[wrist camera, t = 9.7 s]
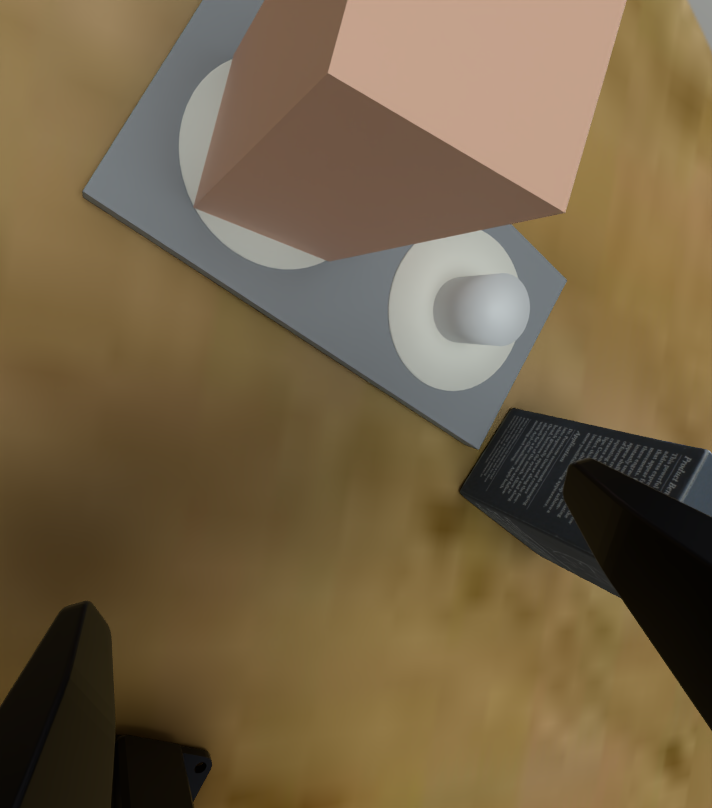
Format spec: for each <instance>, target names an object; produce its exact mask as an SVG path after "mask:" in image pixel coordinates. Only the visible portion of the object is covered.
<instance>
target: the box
mask: <svg viewBox="0 0 712 808" xmlns="http://www.w3.org/2000/svg"><path fill="white" fill-rule="evenodd" d="M585 458H592V459H595V460H597V461H599V462H601V463H603V464H605V465H607V466H609V467H611V468H613V469H615V470H617V471H619V472H621V473H623V474H625V475H627V476H629V477H632V478H634V479H636V480H638V481H640V482H642V483H644V484H646V485H648V486H650V487H652V488H654V489H656V490H658V491H660V492H662V493H664V494H666V495H668V496H670V497H672V498H674V499H676V500H678V501H680V502H682V503H684V504H686V505H688V506H690V507H692V508H695V509H697V510H699V511H701V512H703V513H705V514H707V515H709V516H711V517H712V454H711V452H710V451H709V450H706V449H701V448H696V447H691V446H686V445H681V444H676V443H672V442H667V441H662V440H657V439H653V438H648V437H643V436H639V435H634V434H629V433H625V432H621V431H616V430H612V429H607V428H603V427H598V426H594V425H589V424H584V423H580V422H575V421H571V420H566V419H562V418H556V417H553V416H548V415H544V414H538V413H534V412H529V411H524V410H520V409H515V408H513V409H511V410H510V411H509V412H508V414H507V416H506V417H505V419H504V420H503V421H502V423H501V425H500V427H499V429H498V430H497V432H496V433H495V435H494V436H493V438H492V440H491V441H490V443H489V445H488V446H487V448H486V449H485V451H484V452H483V454H482V455H481V457H480V459H479V460H478V462H477V463H476V465H475V467H474V468H473V470H472V472H471V473H470V475H469V476H468V478H467V480H466V481H465V483H464V485H463V487H462V488H461V490H460V493H461V494H462V495H463V496H464V497H465V498H466V499H467V500H469V501H470V502H471V503H472V504H474V505H475V506H476V507H477V508H479V509H480V510H481V511H483V512H484V513H485V514H486V515H488V516H489V517H490V518H492V519H493V520H494V521H495V522H497V523H498V524H499V525H501V526H502V527H503V528H505V529H506V530H507V531H508V532H510V533H511V534H512V535H513V536H515V537H516V538H517V539H519V540H520V541H521V542H523V543H524V544H525V545H527V546H528V547H529V548H530V549H532V550H533V551H534V552H536V553H537V554H538V555H540V556H541V557H544V558H545V559H547V560H549V561H551V562H553V563H555V564H557V565H559V566H560V567H562V568H564V569H566V570H568V571H570V572H572V573H574V574H576V575H578V576H579V577H581V578H583V579H585V580H587V581H590V582H591V583H593V584H595V585H597V586H599V587H600V588H603V589H605V590H607V591H608V592H610V593H612V594H614V595H616V596H618V597H620V596H619V594H618V593H617V591H616V590H615V588H614V587H613V586H612V584H611V583H610V581H609V580H608V578H607V577H606V575H605V573H604V572H603V570H602V569H601V567H600V565H599V564H598V562H597V560H596V558H595V557H594V555H593V553H592V551H591V549H590V547H589V546H588V544H587V542H586V540H585V538H584V536H583V534H582V533H581V531H580V529H579V527H578V525H577V523H576V522H575V520H574V518H573V516H572V514H571V512H570V510H569V509H568V507H567V505H566V503H565V501H564V498H563V486H564V482H565V478H566V473H567V469H568V466H569V464H570V463H572V462H574V461H578V460H581V459H585ZM620 598H621V597H620Z"/></svg>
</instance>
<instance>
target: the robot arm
mask: <svg viewBox="0 0 712 808" xmlns="http://www.w3.org/2000/svg"><path fill="white" fill-rule="evenodd" d="M563 498H564V501H565V503H566V505H567V507H568V509H569V510H570V512H571V514H572V516H573V518H574V520H575V522H576V523H577V525H578V527H579V529H580V531H581V533H582V534H583V536H584V538H585V540H586V542H587V544H588V546H589V547H590V549H591V551H592V553H593V555H594V557H595V558H596V560H597V562H598V564H599V565H600V567H601V569H602V570H603V572H604V573H605V575H606V577H607V578H608V580H609V581H610V583H611V584H612V586H613V587H614V588H615V590H616V591H617V593H618V594H619V596H620V597H621V599H622V600H623V602H624V603H625V605H626V606H627V607H628V609H629V610H630V612H631V613H632V615H633V616H634V618H635V619H636V621H637V622H638V624H639V625H640V627H641V628H642V629H643V631H644V632H645V634H646V635H647V637H648V638H649V640H650V641H651V643H652V644H653V646H654V647H655V648H656V650H657V651H658V653H659V654H660V656H661V657H662V659H663V660H664V662H665V663H666V665H667V666H668V667H669V669H670V670H671V672H672V673H673V675H674V676H675V678H676V679H677V681H678V682H679V684H680V685H681V687H682V688H683V689H684V691H685V692H686V694H687V695H688V697H689V698H690V700H691V701H692V703H693V704H694V706H695V707H696V708H697V710H698V711H699V713H700V714H701V716H702V717H703V719H704V720H705V722H706V723H707V725H708V726H709V728H710V729H711V730H712V517H711V516H709V515H707V514H705V513H703V512H701V511H699V510H697V509H695V508H692V507H690V506H688V505H686V504H684V503H682V502H680V501H678V500H676V499H674V498H672V497H670V496H668V495H666V494H664V493H662V492H660V491H658V490H656V489H654V488H652V487H650V486H648V485H646V484H644V483H642V482H640V481H638V480H636V479H634V478H632V477H629V476H627V475H625V474H623V473H621V472H619V471H617V470H615V469H613V468H611V467H609V466H607V465H605V464H603V463H601V462H599V461H597V460H595V459H592V458H585V459H581V460H578V461H574V462H572V463H570V464H569V466H568V469H567V473H566V478H565V482H564V486H563ZM201 762H203V763H202V765H200V766H196V765H197V764H199V763H201ZM211 767H212V761H211V757H210V754H209V753H208V752H207V751H205V750H200V749H194V748H189V747H183V746H180V745H179V744H175V743H169V742H164V741H158V740H153V739H147V738H141V737H136V736H130V735H123V736H122V735H116V734H115V701H114V681H113V660H112V639H111V632H110V628H109V626H108V624H107V623H106V621H105V620H104V618H103V617H102V616H101V614H100V613H99V611H98V610H97V609H96V607H95V606H94V605H93V604H92V602H90V601H83V602H80V603H76V604H73V605H69V606H66V607H64V608H63V609H62V610H61V611H60V612H59V614H58V615H57V617H56V618H55V620H54V622H53V623H52V625H51V626H50V628H49V630H48V631H47V633H46V634H45V636H44V638H43V639H42V641H41V642H40V644H39V645H38V647H37V649H36V650H35V652H34V653H33V655H32V657H31V658H30V660H29V661H28V663H27V665H26V666H25V668H24V669H23V671H22V673H21V674H20V676H19V677H18V679H17V681H16V682H15V684H14V685H13V687H12V688H11V690H10V692H9V693H8V695H7V696H6V698H5V700H4V701H3V703H2V704H1V706H0V808H194V805H193V801H194V799H195V797H196V796H197V794H198V792H199V790H200V788H201V786H202V784H203V783H204V781H205V779H206V777H207V775H208V773H209V771H210V770H211Z"/></svg>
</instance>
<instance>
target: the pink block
mask: <svg viewBox="0 0 712 808" xmlns="http://www.w3.org/2000/svg"><path fill="white" fill-rule="evenodd" d="M626 1H627V0H264V2H263V4H262V5H261V7H260V9H259V11H258V12H257V14H256V16H255V18H254V20H253V21H252V23H251V25H250V27H249V28H248V30H247V32H246V34H245V36H244V37H243V39H242V41H241V43H240V44H239V46H238V48H237V50H236V52H235V53H234V55H233V59H232V63H231V66H230V70H229V74H228V78H227V82H226V85H225V89H224V93H223V97H222V100H221V104H220V108H219V112H218V116H217V119H216V123H215V127H214V131H213V134H212V138H211V142H210V146H209V150H208V153H207V157H206V161H205V165H204V168H203V172H202V176H201V180H200V184H199V187H198V191H197V195H196V199H195V202H194V206H193V208H195V209H198V210H200V211H203V212H205V213H208V214H210V215H213V216H216V217H218V218H221V219H223V220H226V221H228V222H231V223H233V224H236V225H238V226H241V227H243V228H246V229H248V230H251V231H253V232H256V233H258V234H261V235H263V236H266V237H268V238H271V239H273V240H276V241H278V242H281V243H283V244H286V245H288V246H291V247H293V248H296V249H299V250H301V251H304V252H306V253H309V254H311V255H314V256H316V257H319V258H321V259H324V260H326V261H329V262H330V261H335V260H339V259H344V258H349V257H354V256H359V255H364V254H368V253H373V252H378V251H383V250H388V249H393V248H397V247H402V246H407V245H412V244H417V243H422V242H426V241H431V240H436V239H441V238H446V237H450V236H455V235H460V234H465V233H470V232H475V231H479V230H484V229H489V228H494V227H499V226H504V225H508V224H513V223H518V222H523V221H528V220H533V219H537V218H542V217H547V216H552V215H557V214H561V213H565V212H566V208H567V205H568V201H569V198H570V194H571V191H572V187H573V184H574V181H575V177H576V174H577V170H578V167H579V163H580V160H581V156H582V153H583V149H584V146H585V142H586V139H587V136H588V132H589V129H590V125H591V122H592V118H593V115H594V111H595V108H596V104H597V101H598V98H599V94H600V91H601V87H602V84H603V80H604V77H605V73H606V70H607V66H608V63H609V59H610V56H611V53H612V49H613V46H614V42H615V39H616V35H617V32H618V28H619V25H620V21H621V18H622V14H623V11H624V8H625V4H626Z"/></svg>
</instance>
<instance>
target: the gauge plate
mask: <svg viewBox="0 0 712 808" xmlns="http://www.w3.org/2000/svg"><path fill="white" fill-rule="evenodd" d="M263 2H264V0H203V1H202V2H201V4H200V5H199V7H198V8H197V10H196V12H195V13H194V15H193V16H192V18H191V20H190V21H189V23H188V24H187V26H186V28H185V29H184V31H183V32H182V34H181V35H180V37H179V39H178V40H177V42H176V43H175V45H174V47H173V48H172V50H171V51H170V53H169V55H168V56H167V58H166V59H165V61H164V63H163V64H162V66H161V67H160V69H159V70H158V72H157V74H156V75H155V77H154V78H153V80H152V82H151V83H150V85H149V86H148V88H147V90H146V91H145V93H144V94H143V96H142V98H141V99H140V101H139V102H138V104H137V105H136V107H135V109H134V110H133V112H132V113H131V115H130V117H129V118H128V120H127V121H126V123H125V125H124V126H123V128H122V129H121V131H120V133H119V134H118V136H117V137H116V139H115V140H114V142H113V144H112V145H111V147H110V148H109V150H108V152H107V153H106V155H105V156H104V158H103V160H102V161H101V163H100V164H99V166H98V167H97V169H96V171H95V172H94V174H93V175H92V177H91V179H90V180H89V182H88V183H87V185H86V187H85V188H84V190H83V197H84V198H85V199H87V200H88V201H90V202H91V203H93V204H95V205H96V206H98V207H99V208H101V209H102V210H104V211H105V212H107V213H108V214H110V215H112V216H113V217H115V218H116V219H118V220H119V221H121V222H122V223H124V224H125V225H127V226H129V227H130V228H132V229H133V230H135V231H136V232H138V233H139V234H141V235H142V236H144V237H145V238H147V239H149V240H150V241H152V242H153V243H155V244H156V245H158V246H159V247H161V248H162V249H164V250H166V251H167V252H169V253H170V254H172V255H173V256H175V257H176V258H178V259H179V260H181V261H183V262H184V263H186V264H187V265H189V266H190V267H192V268H193V269H195V270H196V271H198V272H200V273H201V274H203V275H204V276H206V277H207V278H209V279H210V280H212V281H213V282H215V283H217V284H218V285H220V286H221V287H223V288H224V289H226V290H227V291H229V292H230V293H232V294H234V295H235V296H237V297H238V298H240V299H241V300H243V301H244V302H246V303H247V304H249V305H250V306H252V307H254V308H255V309H257V310H258V311H260V312H261V313H263V314H264V315H266V316H267V317H269V318H271V319H272V320H274V321H275V322H277V323H278V324H280V325H281V326H283V327H284V328H286V329H288V330H289V331H291V332H292V333H294V334H295V335H297V336H298V337H300V338H301V339H303V340H305V341H306V342H308V343H309V344H311V345H312V346H314V347H315V348H317V349H318V350H320V351H322V352H323V353H325V354H326V355H328V356H329V357H331V358H332V359H334V360H335V361H337V362H338V363H340V364H342V365H343V366H345V367H346V368H348V369H349V370H351V371H352V372H354V373H355V374H357V375H359V376H360V377H362V378H363V379H365V380H366V381H368V382H369V383H371V384H372V385H374V386H376V387H377V388H379V389H380V390H382V391H383V392H385V393H386V394H388V395H389V396H391V397H393V398H394V399H396V400H397V401H399V402H400V403H402V404H403V405H405V406H406V407H408V408H410V409H411V410H413V411H414V412H416V413H417V414H419V415H420V416H422V417H423V418H425V419H427V420H428V421H430V422H431V423H433V424H434V425H436V426H437V427H439V428H440V429H442V430H443V431H445V432H447V433H448V434H450V435H451V436H453V437H454V438H456V439H457V440H459V441H460V442H462V443H464V444H465V445H467V446H470V447H473V448H475V449H478V450H479V448H480V446H481V444H482V442H483V441H484V439H485V437H486V435H487V433H488V431H489V429H490V427H491V425H492V423H493V421H494V419H495V417H496V416H497V414H498V412H499V410H500V408H501V406H502V404H503V402H504V400H505V398H506V396H507V394H508V393H509V391H510V389H511V387H512V385H513V383H514V381H515V379H516V377H517V375H518V373H519V371H520V370H521V368H522V366H523V364H524V362H525V360H526V358H527V356H528V354H529V352H530V350H531V348H532V347H533V345H534V343H535V341H536V339H537V337H538V335H539V333H540V331H541V329H542V327H543V325H544V323H545V322H546V320H547V318H548V316H549V314H550V312H551V310H552V308H553V306H554V304H555V302H556V300H557V299H558V297H559V295H560V293H561V291H562V289H563V287H564V285H565V283H566V281H567V280H566V279H565V278H564V277H563V276H562V275H561V274H560V273H559V272H558V271H557V270H556V269H555V268H554V267H553V266H552V265H551V264H550V263H549V262H548V261H547V260H546V259H545V258H544V257H543V256H542V255H541V254H540V253H539V252H538V251H537V250H536V249H535V248H534V247H533V246H532V245H531V244H530V243H529V242H528V241H527V240H526V239H525V238H524V237H523V236H522V235H521V234H520V233H519V232H518V231H517V230H516V229H515V228H514V227H513V226H512V225H511V224H508V225H504V226H499V227H494V228H489V229H484V230H479V231H475V232H470V233H465V234H460V235H455V236H450V237H446V238H441V239H436V240H431V241H426V242H422V243H417V244H412V245H407V246H402V247H397V248H393V249H388V250H383V251H378V252H373V253H368V254H364V255H359V256H354V257H349V258H344V259H339V260H335V261H330V262H329V261H326V260H324V259H321V258H319V257H316V256H314V255H311V254H309V253H306V252H304V251H301V250H299V249H296V248H293V247H291V246H288V245H286V244H283V243H281V242H278V241H276V240H273V239H271V238H268V237H266V236H263V235H261V234H258V233H256V232H253V231H251V230H248V229H246V228H243V227H241V226H238V225H236V224H233V223H231V222H228V221H226V220H223V219H221V218H218V217H216V216H213V215H210V214H208V213H205V212H203V211H200V210H198V209H195V208H193V206H194V202H195V199H196V195H197V191H198V187H199V184H200V180H201V176H202V172H203V168H204V165H205V161H206V157H207V153H208V150H209V146H210V142H211V138H212V134H213V131H214V127H215V123H216V119H217V116H218V112H219V108H220V104H221V100H222V97H223V93H224V89H225V85H226V82H227V78H228V74H229V70H230V66H231V63H232V59H233V55H234V53H235V52H236V50H237V48H238V46H239V44H240V43H241V41H242V39H243V37H244V36H245V34H246V32H247V30H248V28H249V27H250V25H251V23H252V21H253V20H254V18H255V16H256V14H257V12H258V11H259V9H260V7H261V5H262V4H263Z"/></svg>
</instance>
